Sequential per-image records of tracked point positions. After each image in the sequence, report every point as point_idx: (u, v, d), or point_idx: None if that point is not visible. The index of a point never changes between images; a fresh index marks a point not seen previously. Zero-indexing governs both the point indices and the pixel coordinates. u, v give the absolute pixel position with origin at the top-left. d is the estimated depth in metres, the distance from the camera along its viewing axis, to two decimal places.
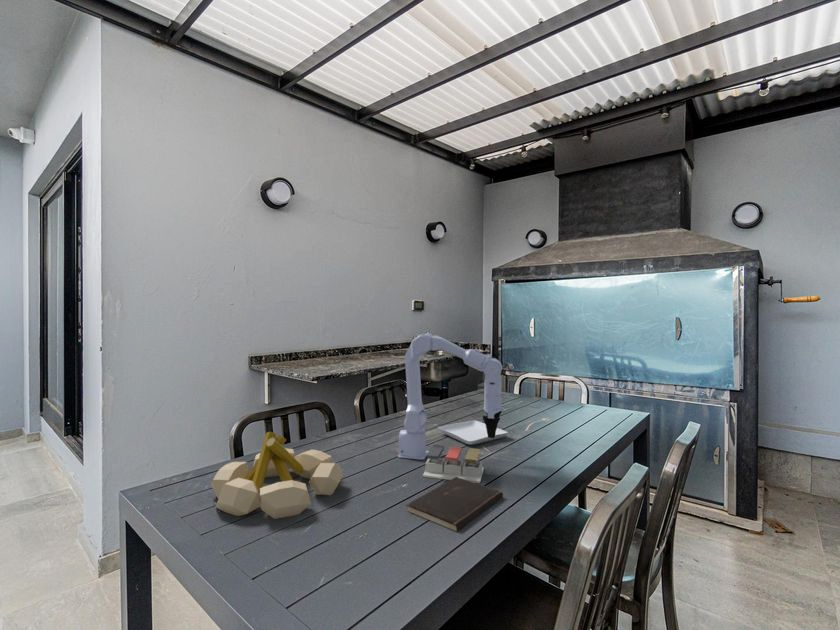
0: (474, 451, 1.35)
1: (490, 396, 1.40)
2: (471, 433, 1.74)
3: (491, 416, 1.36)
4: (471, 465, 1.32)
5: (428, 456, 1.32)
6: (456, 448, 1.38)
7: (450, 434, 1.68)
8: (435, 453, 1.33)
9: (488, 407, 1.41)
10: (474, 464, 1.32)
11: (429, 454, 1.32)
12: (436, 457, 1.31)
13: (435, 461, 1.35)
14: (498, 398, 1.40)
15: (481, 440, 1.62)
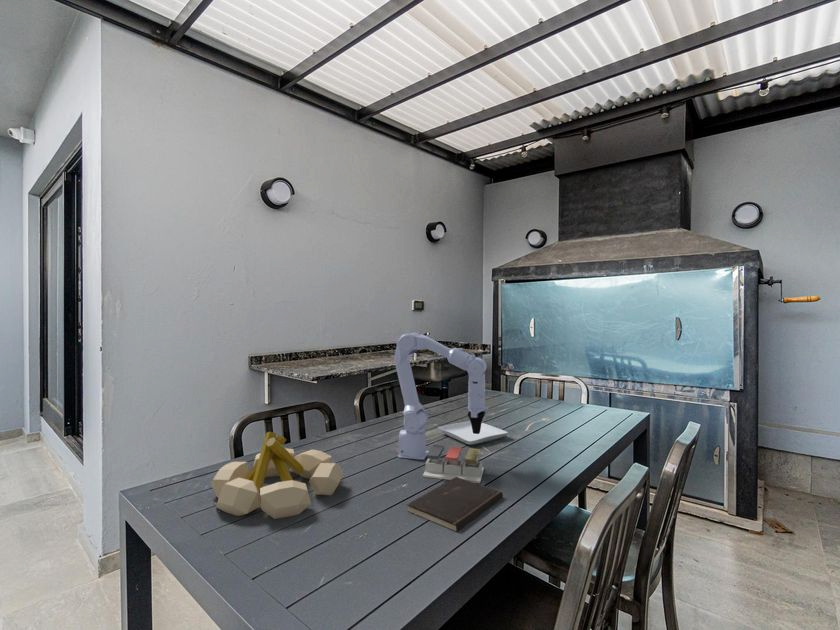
0: (474, 451, 1.35)
1: (474, 395, 1.40)
2: (471, 433, 1.74)
3: (474, 415, 1.35)
4: (471, 465, 1.32)
5: (428, 456, 1.32)
6: (456, 448, 1.38)
7: (450, 434, 1.68)
8: (435, 453, 1.33)
9: (472, 406, 1.40)
10: (474, 464, 1.32)
11: (429, 454, 1.32)
12: (436, 457, 1.31)
13: (435, 461, 1.35)
14: (482, 397, 1.40)
15: (481, 440, 1.62)
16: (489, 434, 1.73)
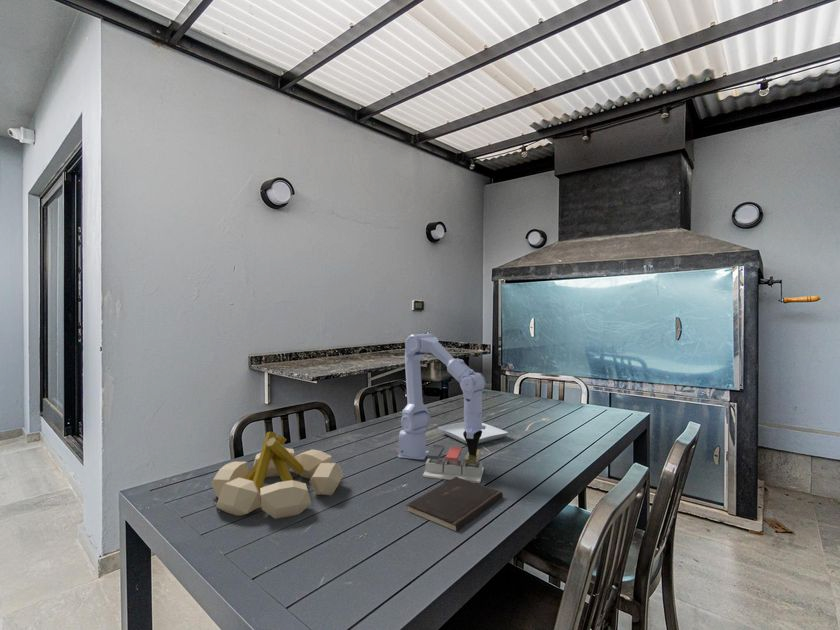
0: None
1: (470, 414, 1.30)
2: None
3: (470, 436, 1.26)
4: (471, 465, 1.32)
5: (428, 456, 1.32)
6: (456, 448, 1.38)
7: (450, 434, 1.68)
8: (435, 453, 1.33)
9: (468, 426, 1.31)
10: (474, 464, 1.32)
11: (429, 454, 1.32)
12: (436, 457, 1.31)
13: (435, 461, 1.35)
14: (478, 416, 1.30)
15: (481, 440, 1.62)
16: (489, 434, 1.73)
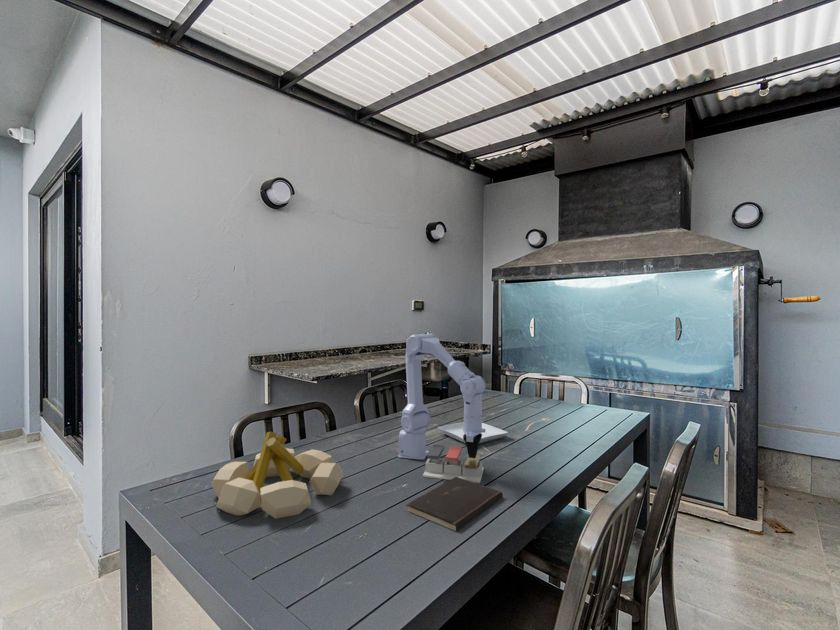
0: None
1: (470, 417, 1.30)
2: None
3: (470, 439, 1.26)
4: None
5: (428, 456, 1.32)
6: (456, 448, 1.38)
7: (450, 434, 1.68)
8: (435, 453, 1.33)
9: (467, 429, 1.31)
10: None
11: (429, 454, 1.32)
12: (436, 457, 1.31)
13: (435, 461, 1.35)
14: (478, 419, 1.30)
15: (481, 440, 1.62)
16: (489, 434, 1.73)
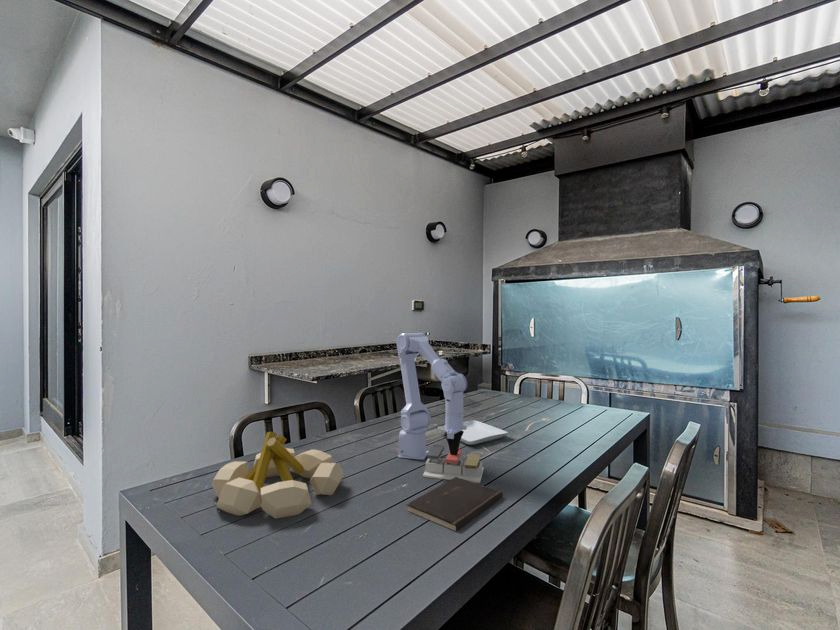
0: (474, 457, 1.35)
1: (451, 414, 1.32)
2: (471, 433, 1.74)
3: (450, 436, 1.27)
4: None
5: (428, 456, 1.32)
6: None
7: None
8: (435, 453, 1.33)
9: (449, 426, 1.32)
10: None
11: (429, 454, 1.32)
12: (436, 457, 1.31)
13: (435, 461, 1.35)
14: (459, 416, 1.32)
15: (481, 440, 1.62)
16: (489, 434, 1.73)
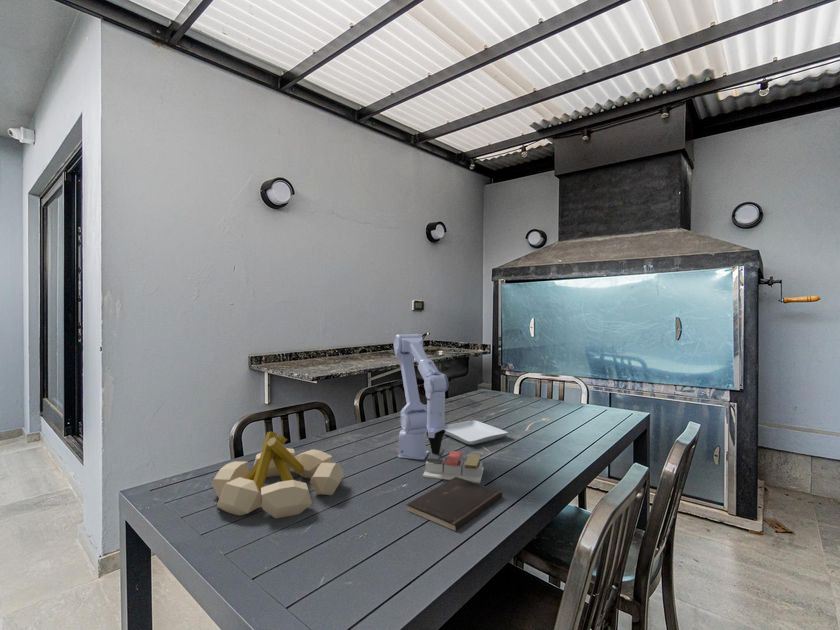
0: (474, 457, 1.35)
1: (432, 414, 1.33)
2: (471, 433, 1.74)
3: (431, 435, 1.29)
4: None
5: (428, 459, 1.32)
6: (456, 452, 1.38)
7: (450, 434, 1.68)
8: (435, 456, 1.33)
9: (430, 425, 1.34)
10: None
11: (429, 457, 1.32)
12: (436, 460, 1.31)
13: None
14: (441, 416, 1.33)
15: (481, 440, 1.62)
16: (489, 434, 1.73)
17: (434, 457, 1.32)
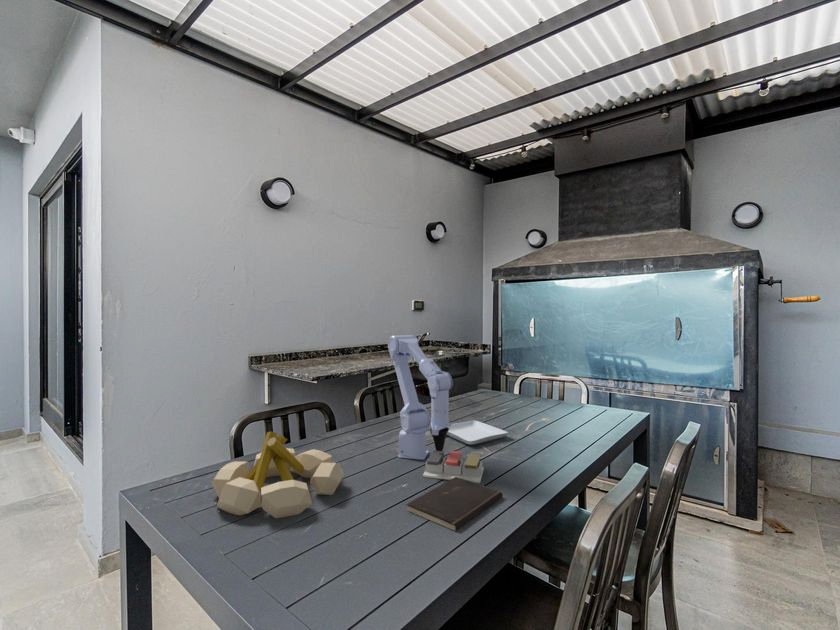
0: (474, 457, 1.35)
1: (436, 412, 1.36)
2: (471, 433, 1.74)
3: (435, 433, 1.32)
4: None
5: (428, 462, 1.32)
6: (456, 452, 1.38)
7: (450, 434, 1.68)
8: (435, 459, 1.33)
9: (434, 423, 1.36)
10: None
11: (429, 460, 1.32)
12: (436, 463, 1.31)
13: None
14: (444, 414, 1.36)
15: (481, 440, 1.62)
16: (489, 434, 1.73)
17: (434, 460, 1.32)
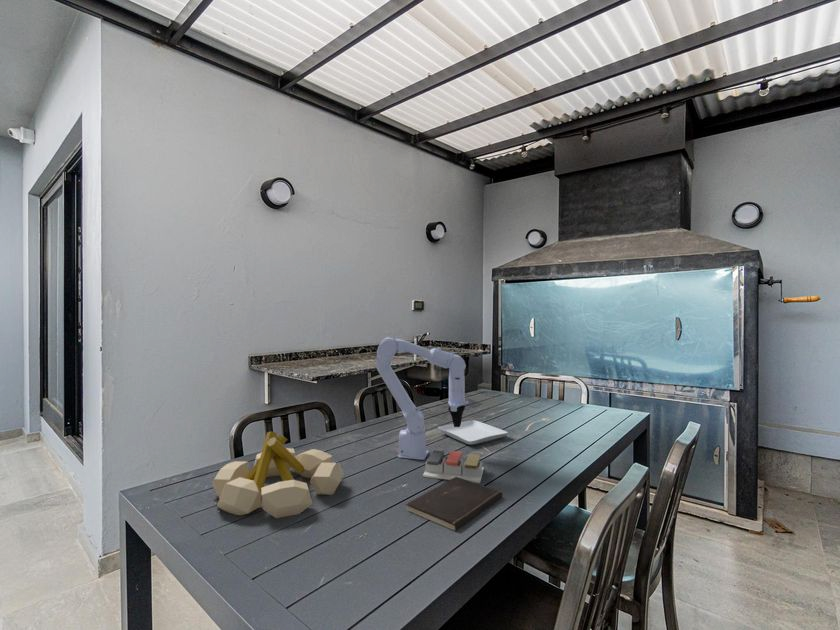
0: (474, 457, 1.35)
1: (454, 390, 1.48)
2: (471, 433, 1.74)
3: (454, 409, 1.43)
4: None
5: (428, 462, 1.32)
6: (456, 452, 1.38)
7: (450, 434, 1.68)
8: (435, 459, 1.33)
9: (452, 401, 1.48)
10: None
11: (429, 460, 1.32)
12: (436, 463, 1.31)
13: None
14: (461, 392, 1.48)
15: (481, 440, 1.62)
16: (489, 434, 1.73)
17: (434, 460, 1.32)
